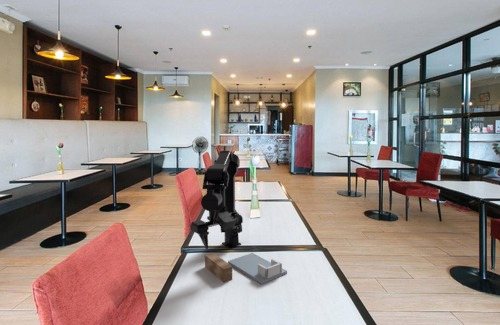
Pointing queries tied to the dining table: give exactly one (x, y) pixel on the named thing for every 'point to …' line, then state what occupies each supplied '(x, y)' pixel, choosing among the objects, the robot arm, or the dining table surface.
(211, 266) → the brown wooden block
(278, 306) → the dining table surface
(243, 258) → the bracket
